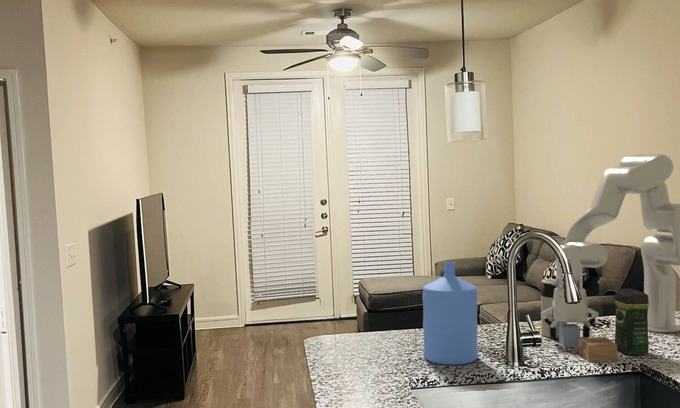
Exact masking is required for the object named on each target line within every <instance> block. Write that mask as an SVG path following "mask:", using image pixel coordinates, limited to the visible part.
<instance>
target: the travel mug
mask: <svg viewBox="0 0 680 408" xmlns="http://www.w3.org/2000/svg"><path fill="white" fill-rule="evenodd" d="M552 281H556V278H546V279H545V278H544V279H542V280H541V283H542V287H541V290H540V313H541V312H543V311H545V310H547V309H549V308H551V307H552V301H553V294H554V289H555V288H557V287H556V286H555V285H552ZM547 318H548V319H549V320H551V319H552V318H553V317H552V313H550V314H548V315H547ZM559 324H568V322H558V323H557V324H556V325H555V328H556V339H559ZM540 328H541V329H540V330H541V331H540V334H541V336H543V337H545V338H549V339H552V338H551V337H550V326H549V325H548V324H547V323H546V322H545V321H544V319H543V318H542V316H541V315H540Z"/></svg>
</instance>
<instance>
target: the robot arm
mask: <svg viewBox="0 0 680 408" xmlns="http://www.w3.org/2000/svg"><path fill="white" fill-rule="evenodd" d="M618 165H619V166H613V167H609V168H607V169H606V170H604V172H603V174H602V176H601V178H600V181H599V184H598V185H597V189H596V191H595V194H594V197H593V198H592V202H591V204H590V207H589V209H588V210H586V211H585V212H584V213H583V214H582V215H581V216H580V217H579V218H578V219H577V220H576V221H575V222H574V223H573V224H572V225H571V227H570V228H569V229H568V232H567V234H566V237H565V239H564V242H563V244H560V246H561V247H562V249H563V250H564V252H565V253H566V255H567V257H568V259H569V262H570V264H571V267H572V273H573V276H574V278H575V280H576V283H577V285H578V287H579V290H580V292H581V295H582V301H581V302H580V303H577V304H567V303H565V298H564V289H563V273H562V268H561V265H560V262H559V260H558V258H557V257H556V278H555V279H556V281H552V285H555V286H556V287H557V288H555V289H554V294H553V301H552V307H551V308H549V309H547V310H545V311H543V312H541V311H540V317H541V316H542V318H543V319H544V321H545V322H546V323H547V324H548V325H549V326H550V337H551V338H550V339H551V340H553V341H557V338H556V328H555V325H556V324H557V323H558V322H567V323H583V325H582V338H587V337H590V335H591V332H590V330H591V327H592V325H594V323H596V321H597V319H598V317H599V315H600V313H599V312H598V311H596V310H594V309H592V308H590V307H588V306H589V303H588V299H587V298H588V296H587V291H586V289H585V288H583V268H600V267H602V266H604V265H605V263H606V262H607V260H608V258H609V254H608V253H609V252H608V250H607V248H606V247H605V246H603V245H601V244H599V243H597V242H587V241H586V239H587V237H588V236H589V235H590V234H591V233H592V232H593V231H594V230H596V229H598V228H599V227H602V226H604V225H607V224H608V223H609V224H610V223H611V222H613V221H615V220H616V219H618V218H617V217H618V216H619V212H620V211H621V210H620V209H622V204H623V203H624V202H623V201H624V200H625V198H626V195H627V194H630V195H631V194H634V195H638V194H639V199H640V207H641V216H642V223H643V226H644V227H645V229H647V230H649V231H653V232H660V233H661V232H662V233H669V235H668V234H651V235H648V236H646V237H645V238H643V240H642V242H641V245H640V253H641V257H642V258H641V259H642V264H643V280H644V281H643V292H644V293H645V294H647V295H648V299H649V307H648V332H654V333H677V332H679V331H680V325H679V324H677V323H676V302H677V301H676V299H677V298H676V297H677V296H676V294H677V293H676V291H677V290H676V282H677V280H676V274H675V271H674V268H673V267H672V266H677V267H678V266H679V267H680V203H671V202H670V197H669V191H668V186H667V183H666V182H665V181H667V180H668V179H669V178H670V177H671V175H672V174H673V171H674V163H673V160H672V159H671V158H670V156H668V155H666V154H662V153H661V154H659V153H656V154H654V153H653V154H632V155H627V156H624V157H623V158H622V159H620V161H619V164H618ZM550 313H552V317H553V318H552V319H551V320H549V319H548V318H547V315H548V314H550ZM589 314H591V317H589Z"/></svg>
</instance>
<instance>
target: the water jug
mask: <svg viewBox="0 0 680 408" xmlns="http://www.w3.org/2000/svg"><path fill="white" fill-rule="evenodd" d="M443 264H444V267H443V273H444V274H443V276H442V277H440V278H438V279H435V280H433V281H432V282H429V283H427V284H426V285H424V286H423V288H422V305H423V306H422V307H423V308H422V309H423V310H422V311H423V313H422V314H423V316H422V319H423V321H422V328H423V329H422V330H423V349H422V351H423V352H422V354H423V357H424V359H426V360H427V361H428V362H430V363H434V364H439V365H445V366H446V365H447V366H460V365H461V366H462V365H466V364H471V363H473V362H475V361H477V359H478V356H479V355H478V354H479V350H478V325H479V324H478V310H477V309H478V293H477V291H478V290H477V287H476V286H475V285H473V284H472V283H469V282H468V281H465V280H463V279H461V278H459V277H457V276H456V267H455V264H456V262H454V261H445V262H443Z"/></svg>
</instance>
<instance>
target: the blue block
mask: <svg viewBox="0 0 680 408" xmlns="http://www.w3.org/2000/svg"><path fill="white" fill-rule="evenodd" d="M578 338H581V326H579V325H578V324H576V323H567V324H559V338H558V341H559V343H560V345H562V347H565V348H568V347H569V348H570V347H571V348H572V347H573V348H574V347H578Z"/></svg>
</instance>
